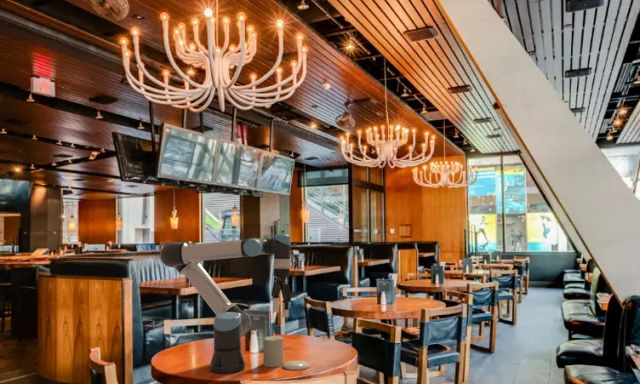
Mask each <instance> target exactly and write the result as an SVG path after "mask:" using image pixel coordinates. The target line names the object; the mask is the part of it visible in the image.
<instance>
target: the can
mask: <svg viewBox="0 0 640 384" xmlns="http://www.w3.org/2000/svg"><path fill="white" fill-rule="evenodd" d="M262 339H263V340H262V343H263V345H262V346H263V359H262V360H263V364H262V365H263V367H266V368H267V367H269V368H277V367H283V364H284V363H285V362H284V337H283V336H280V335H279V336H277V335H273V336H271V335H270V336H265V337H263V338H262Z"/></svg>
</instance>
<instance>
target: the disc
mask: <svg viewBox="0 0 640 384" xmlns="http://www.w3.org/2000/svg"><path fill="white" fill-rule="evenodd" d="M282 368H283V369H285V370H288V371H289V370H290V371H302V369H303V370H307V369H309V368H311V362H309V361H306V360H289V361H285V362H284V364H283V365H282Z"/></svg>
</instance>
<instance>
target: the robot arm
mask: <svg viewBox="0 0 640 384" xmlns="http://www.w3.org/2000/svg"><path fill="white" fill-rule="evenodd" d="M260 255H261V256H262V255H265V256H266V255H267V256H268V255H270V256H271V255H273V265H272V266H273V274H272V276H273V284H272V290H271V293H270V294H271V297H272V313H279V311H280V310H279V309H280V308H279V307H280V293H281V298H282V299H283V300H282V301H281V303H282V308H281V309H282V312H281V317H282V318H289V317H290V315H289V313H290V302H291V301H292V299H291V298H292V296H291V289H290V280H289V279H287V278H289V277H290V275H291V274H290V272H291V271H290V267H291V262H292V261H291V236H290V234H278V233H277V234H274V237H273V238H267V237H266V238H265V237H253V238H249V239H247V238H246V239H238V240H226V241H214V242H206V243H204V242H203V243H195V244H192V243H191V242H189V241H184V240H181V241H171V242H168V243H166V244H164V245H163V247H161V250H160V253H159V257H160V262H161V263H162V264H163V265H164V266H165V267H168V268H175V269H176V271H177V272H178V274H179V275H183V276H185V278H187V279H188V281H189V282H190V283H191V285H192V286H193V287H194V288H195V290H196V291H197V292H198V293H199V295H200V296H201V297H202V298H203V299H202V300H204V301H205V302H206V304H207V305H208V307H210V309H211V310H212V311H213V313H214V314H215V316H214V318H213V325H212V326H213V354H212V355H211V356H212V357H211V360H210V362H209V371H210V372H211V373H215V374H233V373H239V372H242V371H244V370H245V369H246V362H245V358H244V356H243V352H242V337H244V336H245V335H246V334H247V333H248V331H249V329H250V328H251V317H250V315H249V313H247V312H246V311H244V310H242V309H241V308H240V307H239V306H238V305H237V303H234V302H231V301H230V300H229V298H228V297H227V296H226V294H225V293H224V292H223V291H222V289H220V287H219V286H218V284H217V283H216V282H215V280H214V279H213V278H212V277H211V276H210V274H209V273H208V272H207V270H206V269H205V268H204V267H203V265H202V264H201V261H204V262H205V261H212V260H224V259H232V258H233V259H235V258H242V257H243V258H246V257H257V256H260Z"/></svg>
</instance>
